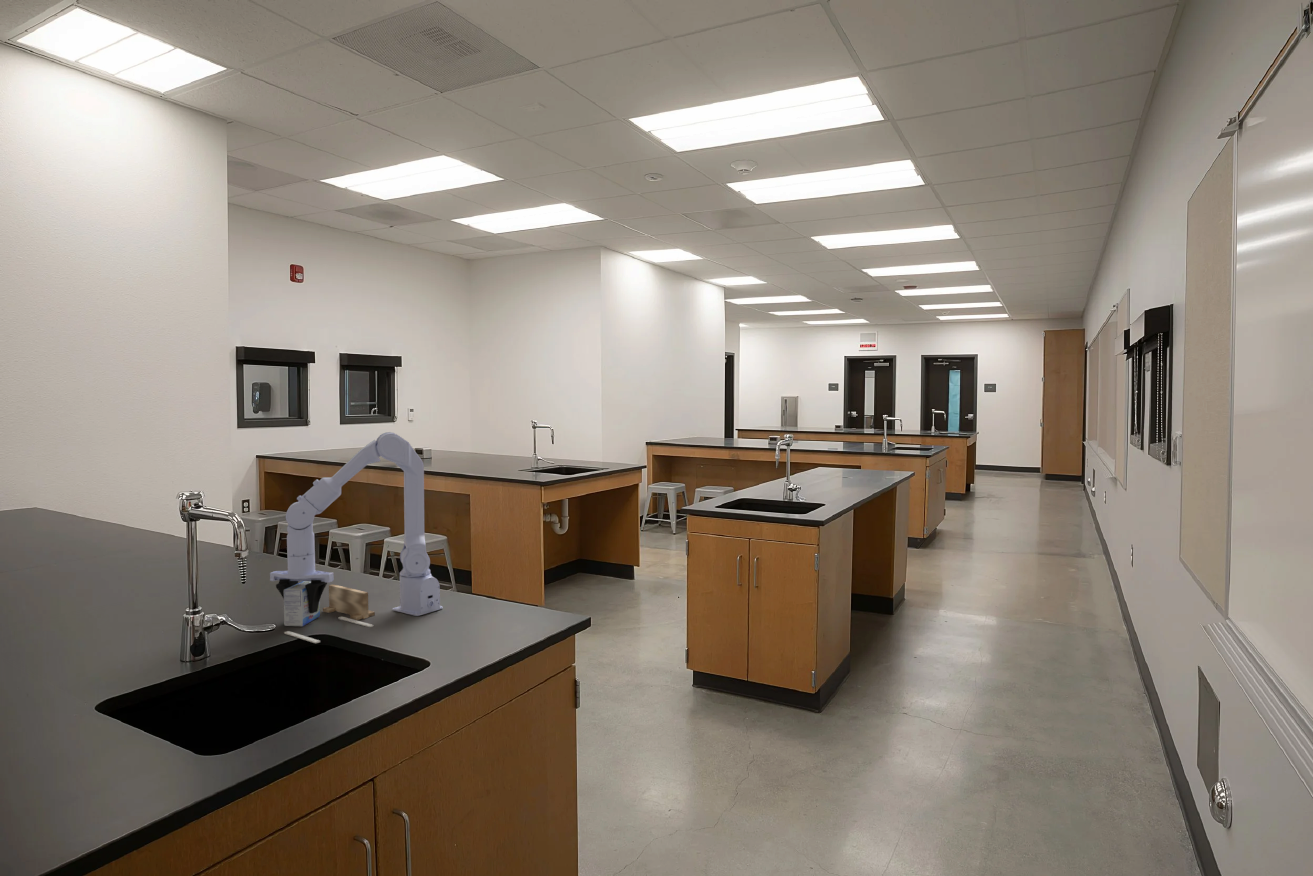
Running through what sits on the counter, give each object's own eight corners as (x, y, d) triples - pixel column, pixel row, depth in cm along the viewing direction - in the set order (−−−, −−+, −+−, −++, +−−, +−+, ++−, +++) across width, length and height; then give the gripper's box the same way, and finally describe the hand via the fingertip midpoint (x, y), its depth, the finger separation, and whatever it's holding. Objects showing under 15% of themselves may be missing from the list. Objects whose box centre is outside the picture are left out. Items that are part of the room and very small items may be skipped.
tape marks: (373, 626, 165) (373, 625, 165) (315, 643, 153) (315, 642, 153) (342, 617, 171) (342, 616, 171) (284, 633, 160) (284, 632, 160)
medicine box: (302, 627, 164) (302, 589, 164) (283, 626, 164) (283, 588, 164) (320, 616, 172) (320, 580, 172) (302, 616, 172) (302, 580, 172)
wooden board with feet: (375, 615, 173) (375, 590, 173) (356, 620, 169) (356, 595, 169) (340, 606, 181) (340, 582, 181) (322, 611, 177) (321, 587, 176)
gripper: (340, 551, 170) (341, 607, 171) (282, 549, 172) (284, 606, 173) (323, 557, 163) (324, 616, 164) (263, 556, 165) (265, 614, 166)
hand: (302, 611), depth 168 cm, fingers open, 5 cm apart
